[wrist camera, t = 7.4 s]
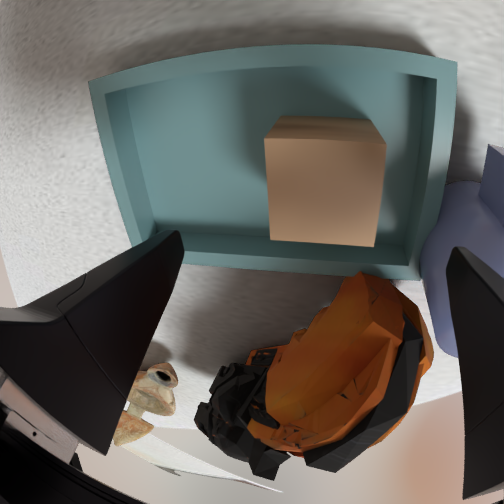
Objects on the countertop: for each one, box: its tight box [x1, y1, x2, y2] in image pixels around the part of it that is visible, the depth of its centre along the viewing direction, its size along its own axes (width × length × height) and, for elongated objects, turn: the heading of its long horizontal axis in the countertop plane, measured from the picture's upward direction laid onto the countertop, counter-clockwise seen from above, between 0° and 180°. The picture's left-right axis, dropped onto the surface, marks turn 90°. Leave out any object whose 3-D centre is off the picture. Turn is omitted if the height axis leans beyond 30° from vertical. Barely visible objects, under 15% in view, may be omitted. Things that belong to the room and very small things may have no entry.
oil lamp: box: [113, 363, 178, 446], centre depth 33 cm, size 9×21×10 cm, turn 149°
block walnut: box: [264, 116, 387, 247], centre depth 13 cm, size 4×4×4 cm
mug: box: [419, 144, 504, 358], centre depth 12 cm, size 7×10×7 cm
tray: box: [88, 44, 457, 281], centre depth 15 cm, size 18×12×2 cm, turn 95°
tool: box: [194, 271, 434, 481], centre depth 22 cm, size 8×23×15 cm, turn 148°
